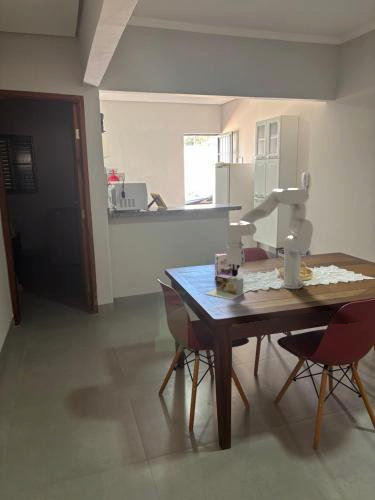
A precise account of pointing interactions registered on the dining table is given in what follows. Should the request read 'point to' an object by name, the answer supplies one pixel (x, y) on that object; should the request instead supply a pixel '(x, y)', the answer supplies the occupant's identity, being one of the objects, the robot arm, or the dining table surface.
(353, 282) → the dining table surface
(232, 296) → the mat
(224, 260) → the candy box
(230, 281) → the coffee box
